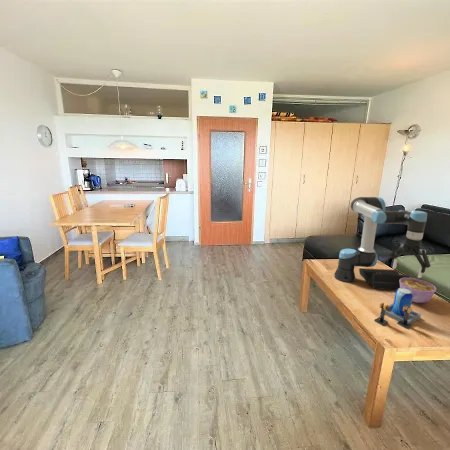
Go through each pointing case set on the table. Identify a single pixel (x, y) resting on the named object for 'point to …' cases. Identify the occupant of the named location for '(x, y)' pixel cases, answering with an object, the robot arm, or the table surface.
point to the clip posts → (404, 323)
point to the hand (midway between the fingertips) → (406, 272)
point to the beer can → (401, 301)
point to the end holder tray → (411, 318)
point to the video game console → (382, 278)
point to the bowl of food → (418, 289)
